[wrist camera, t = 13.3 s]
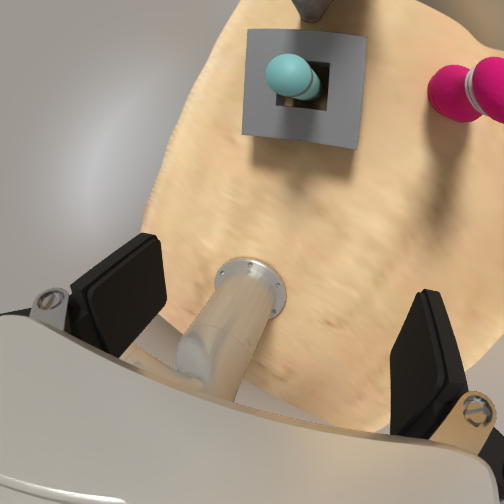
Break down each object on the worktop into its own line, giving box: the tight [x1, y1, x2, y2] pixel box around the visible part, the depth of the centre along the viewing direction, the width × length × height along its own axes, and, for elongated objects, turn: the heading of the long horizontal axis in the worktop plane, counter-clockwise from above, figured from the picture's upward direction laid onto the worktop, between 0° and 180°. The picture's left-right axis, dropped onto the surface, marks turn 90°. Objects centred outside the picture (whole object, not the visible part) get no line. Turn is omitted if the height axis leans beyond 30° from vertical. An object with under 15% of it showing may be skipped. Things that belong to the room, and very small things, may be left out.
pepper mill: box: [428, 57, 504, 124], centre depth 20 cm, size 7×7×20 cm
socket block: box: [242, 29, 367, 150], centre depth 32 cm, size 14×14×5 cm
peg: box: [266, 54, 323, 101], centre depth 28 cm, size 4×4×14 cm
